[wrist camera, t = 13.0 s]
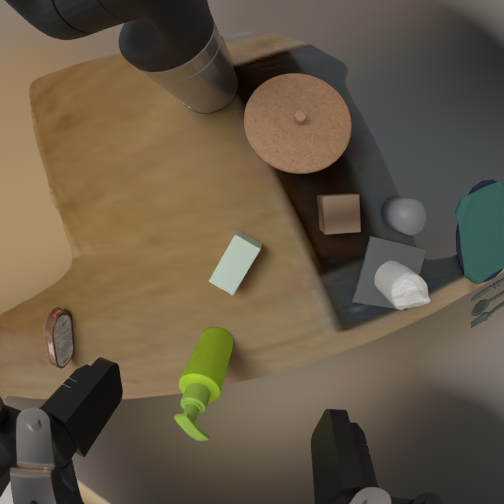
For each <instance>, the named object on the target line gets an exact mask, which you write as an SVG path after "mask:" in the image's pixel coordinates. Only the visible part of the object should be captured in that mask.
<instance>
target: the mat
mask: <svg viewBox="0 0 504 504" xmlns="http://www.w3.org/2000/svg"><path fill="white" fill-rule="evenodd" d="M425 253H426V250H425V249H422V248H418V247H414V246H410V245H406V244H402V243H398V242H394V241H390V240H386V239H382V238H377V237H373V236H370V238H369V242H368V246H367V250H366V254H365V257H364V261H363V265H362V268H361V272H360V276H359V279H358V282H357V286H356V289H355V292H354V296H353V299H352V302H354V303H361V304H368V305H374V306H381V307H388V308H395V307H394V306H393V304H392V303H391V302H390V301H389V300H388V299H387V298H386V297H385V296H384V295H383V293H382V292H381V291H380V290H378V289H377V287H376V285H375V281H374V279H375V274H376V272H377V270H378V269H379V267H380V266H381V265H382V264H384V263H385V262H388V261H396V262H399V263H400V264H403V265H405V266H406V267H408V268H410V269H411V270H412V271H413V272H415V273H416V274H417V275H419V274H420V271H421V268H422V264H423V261H424V257H425ZM395 309H397V308H395ZM407 309H408V308H406V309H403V310H407Z"/></svg>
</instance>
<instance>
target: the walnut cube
mask: <svg viewBox="0 0 504 504" xmlns="http://www.w3.org/2000/svg"><path fill="white" fill-rule="evenodd" d="M317 202H318V216H319V229H320V230H321V231H322V232H323V233H324V234H325V235H326V234H339V233H353V232H361V227H360V203H359V195H358V194H350V193H347V194H328V195H317Z"/></svg>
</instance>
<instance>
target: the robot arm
mask: <svg viewBox="0 0 504 504" xmlns="http://www.w3.org/2000/svg"><path fill="white" fill-rule="evenodd" d="M5 1H6V2H7V3H8V4H9V5H10V6H11V7H13V8H14V9H15V10H16V11H17V12H18V13H19V14H20V15H21V16H22V17H23V18H24V19H25V20H27V21H28V22H29V23H30V24H31V25H33V26H34V27H35V28H37V29H38V30H40V31H41V32H43V33H45V34H46V35H48V36H50V37H53V38H57V39H61V40H72V39H77V38H81V37H85V36H88V35H90V34H93V33H96V32H99V31H101V30H104V29H107V28H110V27H113V26H116V25H119V24H122V23H124V25H123V27H122V29H121V32H120V36H119V48H120V51H121V53H122V55H123V56H124V58H125V59H126V60H127V61H129V62H130V63H131V64H133V65H134V66H135V67H137V68H138V69H139V70H141V71H142V72H143V73H145V74H146V75H147V76H149V77H150V78H151V79H153V80H154V81H155V82H157V83H158V84H159V85H161V86H162V87H163V88H164V89H166V90H167V91H168V92H169V93H171V94H172V95H173V96H174V97H176V98H177V99H178V100H179V101H181V102H182V103H183V104H184V105H185V106H186V107H188V108H189V109H191V110H193V111H195V112H200V113H210V112H215V111H217V110H220V109H222V108H223V107H225V106H226V105H228V104H229V103H230V102H231V101H232V99H233V98H234V96H235V94H236V92H237V88H238V80H237V76H236V74H235V71H234V68H233V63H232V60H231V57H230V55H229V52H228V50H227V47H226V45H225V42H224V40H223V37H222V36H221V35H220V34H219V32H218V30H217V27H216V25H215V22H214V20H213V17H212V15H211V13H210V10H209V6H208V3H207V0H5ZM122 394H123V389H122V383H121V377H120V370H119V366H118V364H117V363H114V362H111V361H109V360H106V359H104V358H101V357H100V358H98V359H97V360H96V361H95V362H94V363H93V364H92V365H91V366H89V365H85V366H83V367H81V368H79V369H76V370H75V371H74V373H73V374H72V375H71V376H70V377H69V379H67V380H66V381H65V382H64V383H63V385H61V386H60V387H59V388H58V389H57V391H56V392H55V393H54V394H53V395H52V396H51V397H50V398H49V399H48V401H46V402H45V404H44V405H43V406H42V407H41V408H39V409H38V408H27V409H24V410H23V411H20V410H17V409H14V408H12V407H9V406H7V405H5V404H4V402H3V400H2V399H1V397H0V497H1V495H2V494H3V491H4V490H5V488H6V487H7V485H8V484H9V482H10V480H11V489H12V496H13V502H14V504H84V502H83V500H82V498H81V494H80V491H79V487H78V483H77V479H76V475H75V470H74V465H73V460H72V457H73V455H74V453H77V454H79V455H81V456H82V457H85V456H86V454H87V452H88V451H89V449H90V448H91V446H92V445H93V443H94V441H95V440H96V438H97V437H98V435H99V434H100V432H101V431H102V429H103V428H104V426H105V424H106V423H107V422H108V420H109V418H110V417H111V415H112V414H113V412H114V411H115V409H116V408H117V406H118V405H119V403H120V401H121V399H122ZM366 444H367V442H366V438H365V435H364V432H363V430H362V429H361V428H360V427H359V425H358V424H357V423H350V421H349V417H348V413H347V411H346V410H336V409H335V410H334V409H326V410H325V411H324V413H323V415H322V417H321V419H320V421H319V423H318V424H317V426H316V428H315V430H314V432H313V434H312V439H311V453H312V466H313V482H314V499H315V504H443V502H442V500H441V498H440V497H439V496H438V495H436V494H434V493H430V492H426V493H423V494H420V495H419V496H417V497H416V498H415V499H403V498H393V497H390V496H389V495H388V493H386V492H385V491H384V490H382V489H380V488H379V487H378V485H377V481H376V477H375V473H374V469H373V465H372V461H371V457H370V454H369V449H368V446H367V445H366Z"/></svg>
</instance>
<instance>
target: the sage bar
mask: <svg viewBox="0 0 504 504" xmlns="http://www.w3.org/2000/svg"><path fill="white" fill-rule="evenodd" d="M261 246H262V243H260V242H259V241H257V240H255V239H254V238H252V237H250V236H248V235H247V234H245V233H243V232H242V231H240V230H239V231H238V232H237V233H236V234H235V236H234V238H233V239H232V241H231V243H230V245H229V246H228V248H227V250H226V252H225V253H224V255H223V257H222V259H221V261H220V262H219V264H218V266H217V268H216V270H215V271H214V273H213V275H212V277H211V278H210V280H209V282H211V283H212V284H214V285H216V286H217V287H219V288H221V289H223V290H224V291H226V292H228V293H230V294H231V295H233V294H234V292H235V291H236V289H237V287H238V286H239V284H240V282H241V281H242V279H243V278H244V276H245V274H246V273H247V271H248V269H249V268H250V266H251V264H252V263H253V261H254V259H255V258H256V256H257V255H258V253H259V251H260V250H261Z"/></svg>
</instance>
